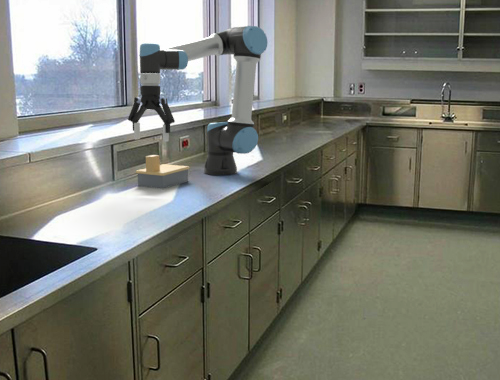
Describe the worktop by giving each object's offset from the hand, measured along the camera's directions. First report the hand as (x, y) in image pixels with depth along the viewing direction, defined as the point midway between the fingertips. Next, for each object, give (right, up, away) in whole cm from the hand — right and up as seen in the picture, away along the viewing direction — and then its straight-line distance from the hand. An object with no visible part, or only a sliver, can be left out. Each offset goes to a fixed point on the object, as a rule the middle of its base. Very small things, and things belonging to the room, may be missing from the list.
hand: (151, 140), depth 228 cm
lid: (+3, -12, +9) cm, 15 cm away
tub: (+3, -17, +10) cm, 20 cm away
